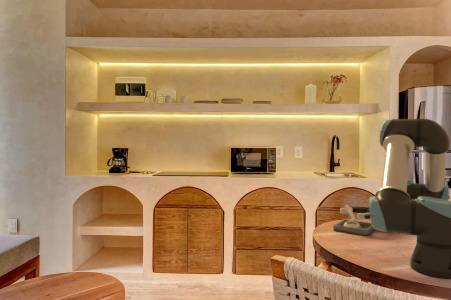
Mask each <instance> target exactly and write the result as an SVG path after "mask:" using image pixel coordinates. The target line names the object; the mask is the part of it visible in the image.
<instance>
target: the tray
mask: <svg viewBox="0 0 451 300" xmlns="http://www.w3.org/2000/svg"><path fill="white" fill-rule="evenodd" d="M348 221H350V219H342V220H340V221H338V222H337V223H335V224H333V231H335V232H341V233H347V234H353V235H359V236H360V235H361V236H366V237H368V236H369V235H370V234H371V233H372V232H373V231H375V229H373V228H372V225H371V222H367V221H366V222H365V221H360V220H355V222H357V223H359V224H360V228H352V227H345V226H344V223H345V222H348Z"/></svg>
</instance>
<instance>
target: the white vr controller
mask: <svg viewBox="0 0 451 300" xmlns="http://www.w3.org/2000/svg"><path fill="white" fill-rule="evenodd" d="M349 207H350V206H349V205H348V204H346V205H344V208H346V210H347V212H348V213H347V214H348V215H349V216H350V219H349V220H350V221H348V222H345V223H344V226H345V227H352V228H360V224H359V223H357V222H355V221H358V220H357V215H356V216H355V215H354V213H352V211H351V209H350V208H349Z"/></svg>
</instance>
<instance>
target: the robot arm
mask: <svg viewBox="0 0 451 300" xmlns="http://www.w3.org/2000/svg"><path fill="white" fill-rule="evenodd" d="M450 143H451V141H450V137H449V134H448V133H447V131H446V130H445V128H444V127H443V126H442V125H441V124H440V123H438V122H436V121H434V120H432V119H429V118H401V119H400V118H392V119H386V120H385V121H383V123H382V124H381V126H380V134H379V145H380V146H381V147H383V150H384V151H385V155H384V163H383V171H382V178H381V185H380V189H378V190H377V191H376V192H375V195H374V196H370V197H369V202H368V203H369V206H351V205H350V206H349V208H350V209H351V211H352V213H353V214H354V213H355V214H356V218H357V220H356V221H361V220H362V221H363V220H370V223H371V225H372V228H373V229H374V231H380V232H384V233H395V234H401V235H403V234H404V235H409V236H416V245H415V246H414V248H413V249H414V250H413V252H412V255H411V257H410V260H409V261H410V264H409V265H410V267H411V269H413V270H414V271H416V272H418V273H421V274H423V275H427V276H430V277H434V278H440V279H450V278H451V201H450V200H449V197H450V196H449V195H450V193H449V192H450V191H449V190H450V186H449V185H445V179H446V177H445V176H446V164H447V163H446V160H447V152H448V151H449V149H450V145H451V144H450ZM415 148H422V150H423V151H424V154H425V155H424V156H425V157H424V158H425V159H424V162H425V163H424V166H425V167H424V173H425V175H424V183H415V182H414V180H413V179H412V178H409V166H410V153H412V152H413V151H414V149H415ZM339 214H340V215H341V214H349V213H348V212H347V210H346V208H345V207H340V209H339Z"/></svg>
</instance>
